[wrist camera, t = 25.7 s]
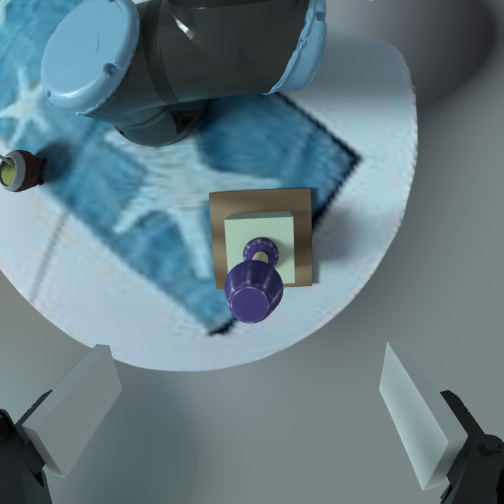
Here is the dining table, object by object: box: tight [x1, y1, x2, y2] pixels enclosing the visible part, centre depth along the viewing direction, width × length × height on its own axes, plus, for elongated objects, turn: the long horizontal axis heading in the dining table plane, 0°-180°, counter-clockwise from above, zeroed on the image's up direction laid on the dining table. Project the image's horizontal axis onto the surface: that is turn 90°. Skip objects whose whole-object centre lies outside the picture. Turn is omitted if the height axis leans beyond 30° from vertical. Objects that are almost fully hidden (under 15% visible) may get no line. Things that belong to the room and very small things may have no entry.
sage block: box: [224, 211, 295, 283], centre depth 41 cm, size 8×8×7 cm
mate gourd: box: [0, 150, 47, 192], centre depth 37 cm, size 8×8×15 cm
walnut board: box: [209, 188, 312, 289], centre depth 45 cm, size 14×14×1 cm
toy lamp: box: [224, 237, 283, 324], centre depth 29 cm, size 5×5×17 cm
